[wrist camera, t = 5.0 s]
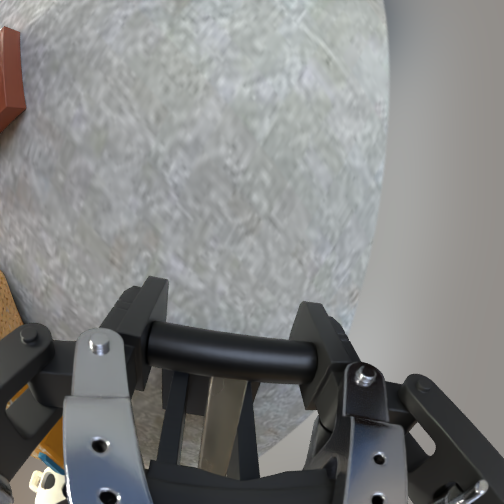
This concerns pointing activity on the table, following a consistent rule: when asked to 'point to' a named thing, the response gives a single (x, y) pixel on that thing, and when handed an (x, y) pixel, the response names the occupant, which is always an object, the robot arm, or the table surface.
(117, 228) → the table surface
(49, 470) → the character mug
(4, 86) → the block
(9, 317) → the device
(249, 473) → the bracket
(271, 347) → the lever
